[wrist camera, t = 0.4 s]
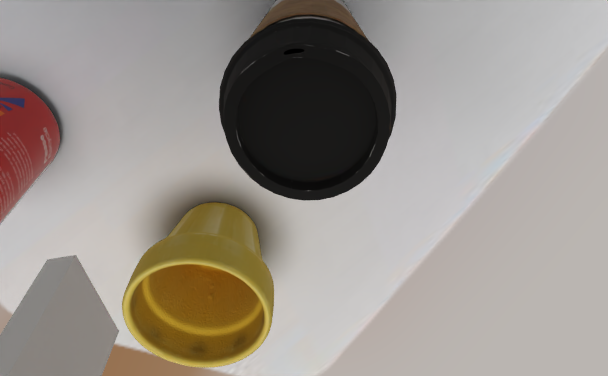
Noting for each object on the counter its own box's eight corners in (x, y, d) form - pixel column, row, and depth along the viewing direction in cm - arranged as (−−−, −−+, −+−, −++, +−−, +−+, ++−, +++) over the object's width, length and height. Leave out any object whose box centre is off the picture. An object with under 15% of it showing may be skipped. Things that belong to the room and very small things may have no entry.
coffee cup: (366, -46, 33) (398, 20, 21) (376, 82, 38) (408, 201, 25) (234, -25, 34) (187, 51, 22) (259, 98, 39) (233, 221, 26)
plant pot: (151, 175, 42) (112, 255, 34) (283, 185, 43) (275, 267, 34) (159, 274, 48) (127, 364, 40) (275, 283, 48) (268, 373, 40)
